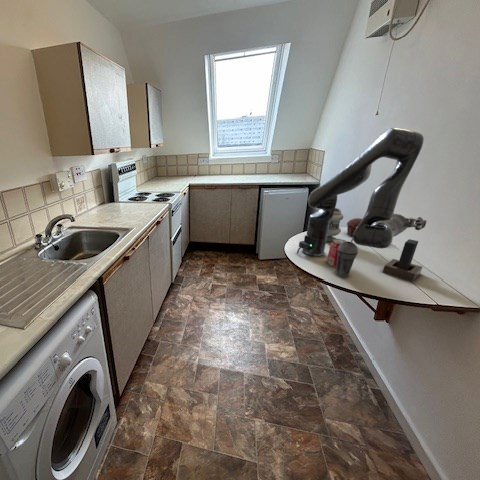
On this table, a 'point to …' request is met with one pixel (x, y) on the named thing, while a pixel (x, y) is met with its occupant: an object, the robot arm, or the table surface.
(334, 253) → the soda can
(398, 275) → the frame
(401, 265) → the dark gray rectangular block
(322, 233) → the robot arm
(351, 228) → the muffin
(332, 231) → the apothecary jar
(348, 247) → the beverage cup
